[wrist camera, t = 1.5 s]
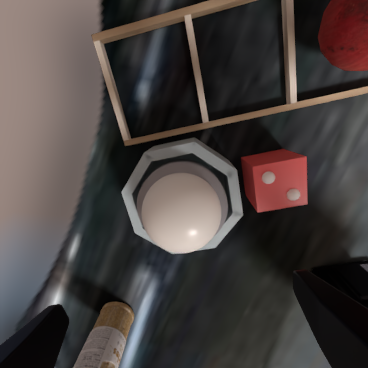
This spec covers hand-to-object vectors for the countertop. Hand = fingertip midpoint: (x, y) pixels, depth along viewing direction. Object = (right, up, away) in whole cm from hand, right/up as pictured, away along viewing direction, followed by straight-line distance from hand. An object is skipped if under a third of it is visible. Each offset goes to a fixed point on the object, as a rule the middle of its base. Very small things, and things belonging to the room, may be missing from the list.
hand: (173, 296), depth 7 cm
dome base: (+3, +4, +12) cm, 14 cm away
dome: (0, +3, +10) cm, 11 cm away
